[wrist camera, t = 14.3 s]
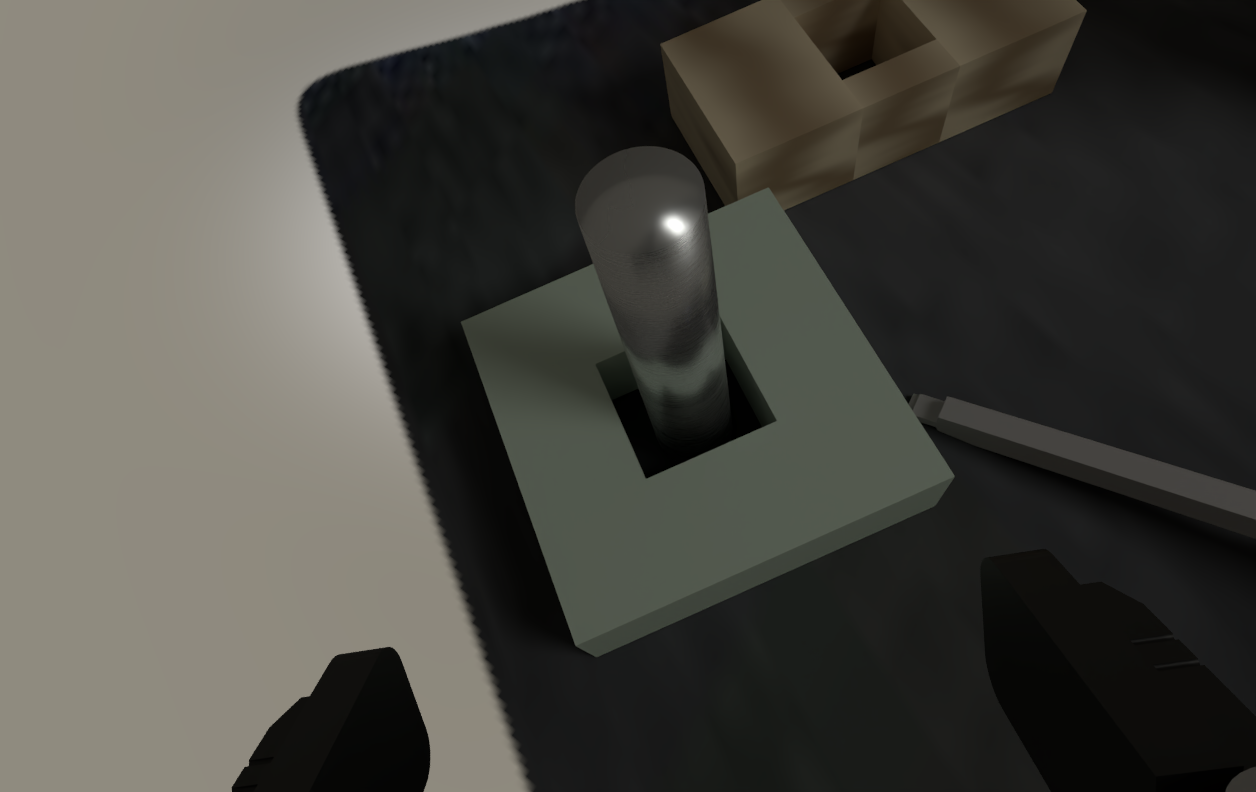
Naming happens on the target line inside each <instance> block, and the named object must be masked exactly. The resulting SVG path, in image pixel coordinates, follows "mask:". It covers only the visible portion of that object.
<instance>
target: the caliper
mask: <svg viewBox="0 0 1256 792" xmlns="http://www.w3.org/2000/svg"><path fill="white" fill-rule="evenodd" d="M909 406H910V408H911V409H912V411H913V412H914V414H915V415H916V417H917V418H918V420H919V422H921V423H924V424H928V425H931V426H934V427H936V428H937V430H938V431H940V432H943V433H945V434H947V435H950V436H952V437H955V438H957V439H960V440H962V441H964V442H967V443H969V444H972V445H974V446H977V447H980V448H983V449H986V450H989V451H992V452H995V453H998V454H1001V455H1004V456H1007V457H1010V458H1013V459H1016V460H1019V461H1022V462H1025V463H1028V464H1032V465H1035V466H1038V467H1041V468H1044V469H1047V470H1050V471H1053V472H1056V473H1059V474H1062V475H1065V476H1068V477H1071V478H1074V479H1077V480H1080V481H1083V482H1086V483H1089V484H1092V485H1095V486H1098V487H1101V488H1104V489H1107V490H1110V491H1113V492H1116V493H1119V494H1122V495H1125V496H1128V497H1131V498H1134V499H1137V500H1140V501H1143V502H1146V503H1149V504H1152V505H1155V506H1158V507H1161V508H1164V509H1167V510H1170V511H1173V512H1176V513H1179V514H1182V515H1185V516H1188V517H1191V518H1194V519H1197V520H1200V521H1203V522H1206V523H1209V524H1212V525H1215V526H1218V527H1221V528H1224V529H1227V530H1230V531H1233V532H1236V533H1239V534H1242V535H1245V536H1248V537H1251V538H1254V539H1256V491H1254V490H1251V489H1248V488H1245V487H1241V486H1238V485H1235V484H1232V483H1228V482H1225V481H1222V480H1219V479H1215V478H1212V477H1209V476H1206V475H1202V474H1199V473H1196V472H1193V471H1189V470H1186V469H1183V468H1180V467H1176V466H1173V465H1170V464H1167V463H1163V462H1160V461H1157V460H1154V459H1150V458H1147V457H1144V456H1141V455H1138V454H1134V453H1131V452H1128V451H1125V450H1121V449H1118V448H1115V447H1112V446H1108V445H1105V444H1102V443H1099V442H1095V441H1092V440H1089V439H1086V438H1082V437H1079V436H1076V435H1073V434H1069V433H1066V432H1063V431H1059V430H1056V429H1053V428H1050V427H1046V426H1043V425H1040V424H1037V423H1033V422H1030V421H1027V420H1023V419H1020V418H1017V417H1014V416H1010V415H1007V414H1004V413H1001V412H997V411H994V410H991V409H987V408H984V407H981V406H978V405H974V404H971V403H968V402H965V401H961V400H958V399H955V398H951V397H948V396H947V399H946V401H941V400H938V399H935V398H932V397H929V396H925V395H922V394H919V395H916V394H913V395H912V397H911V399H910V402H909Z"/></svg>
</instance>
